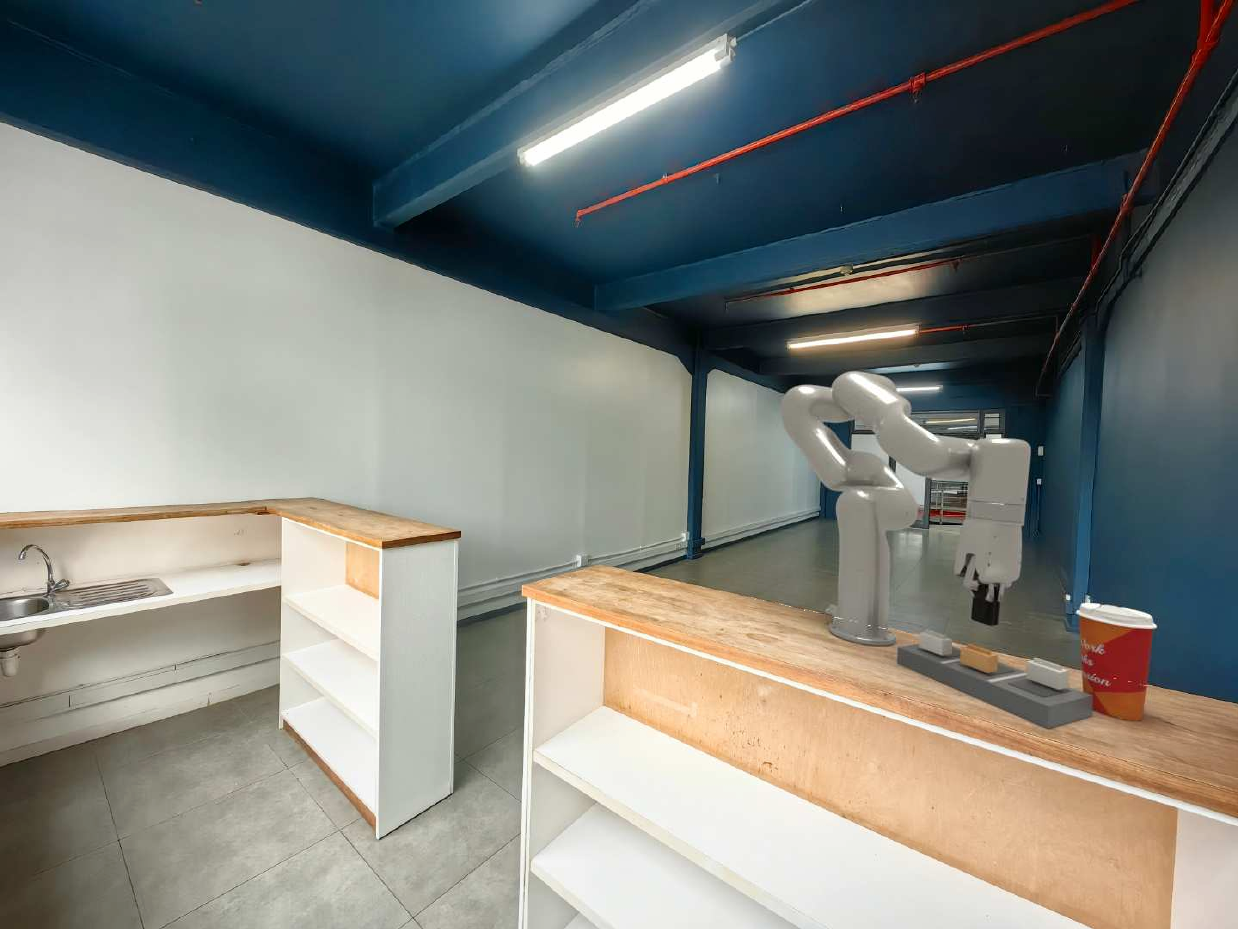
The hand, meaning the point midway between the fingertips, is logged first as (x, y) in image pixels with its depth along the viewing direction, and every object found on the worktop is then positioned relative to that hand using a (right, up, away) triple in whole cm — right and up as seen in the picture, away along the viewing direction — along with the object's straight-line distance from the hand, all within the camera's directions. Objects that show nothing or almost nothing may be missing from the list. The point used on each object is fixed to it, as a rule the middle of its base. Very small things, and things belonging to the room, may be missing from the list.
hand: (984, 622), depth 77 cm
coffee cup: (+13, -11, -8) cm, 18 cm away
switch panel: (-2, -10, -2) cm, 10 cm away
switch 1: (-5, -6, +4) cm, 9 cm away
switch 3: (+3, -7, -7) cm, 10 cm away
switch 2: (-3, -6, -2) cm, 7 cm away
